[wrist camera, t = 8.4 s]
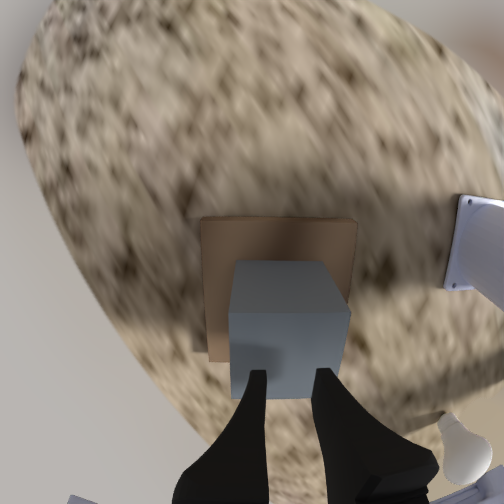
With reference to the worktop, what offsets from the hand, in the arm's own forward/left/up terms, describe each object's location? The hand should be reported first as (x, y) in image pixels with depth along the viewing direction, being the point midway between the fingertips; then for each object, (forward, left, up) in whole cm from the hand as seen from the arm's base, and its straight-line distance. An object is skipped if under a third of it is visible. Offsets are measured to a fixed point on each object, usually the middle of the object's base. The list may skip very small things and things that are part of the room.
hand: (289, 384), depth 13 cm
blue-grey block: (0, 0, -8) cm, 8 cm away
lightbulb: (-22, +18, -10) cm, 30 cm away
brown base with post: (0, 0, -9) cm, 9 cm away
